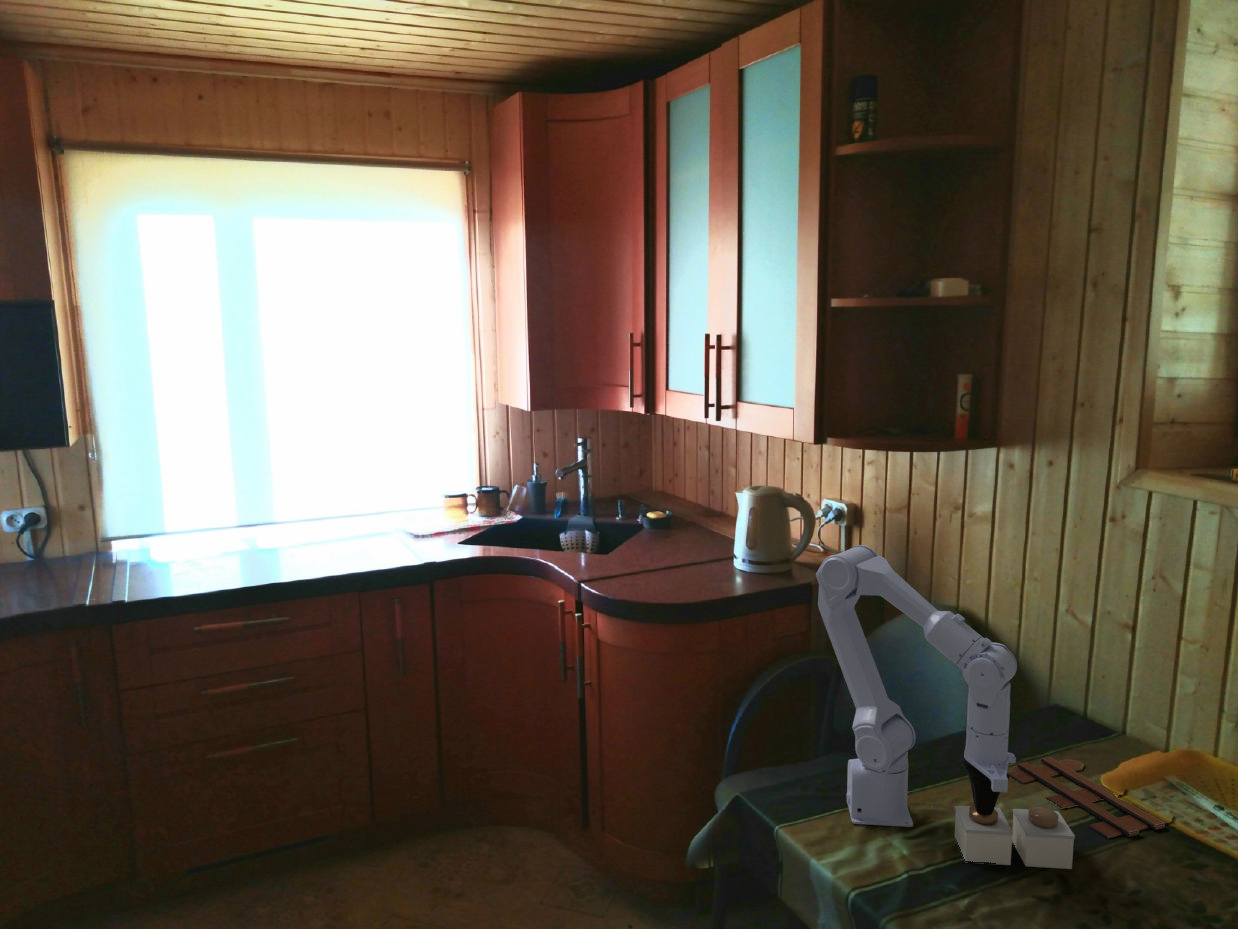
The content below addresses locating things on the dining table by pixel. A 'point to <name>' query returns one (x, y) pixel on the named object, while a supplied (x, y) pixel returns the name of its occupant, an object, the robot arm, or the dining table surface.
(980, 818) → the left press plunger
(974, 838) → the left press
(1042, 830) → the block
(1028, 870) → the dining table surface
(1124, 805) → the decorative fence
